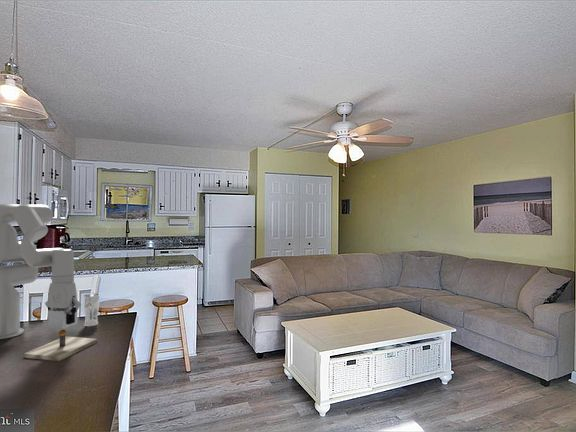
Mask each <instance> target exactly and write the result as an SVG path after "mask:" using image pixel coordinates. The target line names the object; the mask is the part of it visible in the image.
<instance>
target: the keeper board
mask: <svg viewBox="0 0 576 432" xmlns="http://www.w3.org/2000/svg"><path fill="white" fill-rule="evenodd" d="M66 334H67V330H65V329H60V330H59V331H58V336H59V338H58V339H55V340H52V341H50V342H48V343H46V344H44V345H42V346H39V347H36V348H33V349H32V350H29V351H27V352H25V353H23V358H24V359H25V358H26V359H35V360H36V359H37V360H46V361H55V362H60V361H62V360H64V359H66V358H69V357H70V356H72V355H75V354H76V353H78V352H80V351H83V350H84V349H86V348H89V347H91V346H92V345H95V344H97V342H98V338H91V337H90V338H89V337H88V338H87V337H79V336H78V337H77V336H67V335H66Z"/></svg>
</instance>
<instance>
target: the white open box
mask: <svg viewBox="0 0 576 432" xmlns="http://www.w3.org/2000/svg"><path fill="white" fill-rule="evenodd" d="M70 309H71V310H72V308H70ZM68 314H69V313H68V310H67V309H59V308H55V309H52V310H48V309H47V328H48V329H56V330H65V329H67V328H69V327H72V326H74V325H77V324H78V311H77V312H76V313H75V322H74V323H72V324H67V315H68Z"/></svg>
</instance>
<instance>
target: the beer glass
mask: <svg viewBox="0 0 576 432" xmlns="http://www.w3.org/2000/svg"><path fill="white" fill-rule="evenodd" d="M82 306H83V313H84V319H85V320H84V324H83V325H84V327H85V326H87V328H91V327H95V326H98V325H99V321H98V320H99V319H98V315H99V309H100V294H99V293H87V294H84V295H83V305H82Z"/></svg>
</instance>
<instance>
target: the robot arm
mask: <svg viewBox="0 0 576 432" xmlns="http://www.w3.org/2000/svg"><path fill="white" fill-rule="evenodd" d="M53 217H54V213H53V210H52V208H51V207H50V206H49V205H45V204H30V203H29V204H24V203H23V204H19V203H0V264H4V263H5V264H7V263H8V264H9V263H18V262H21V263H20V264H10V265H2V266H0V340H4V339H5V340H6V339H10V338H14V337H18V336H21V335H23V334H24V332H25V329H24V328H22V327H21V295H20V292H19V291H18V290H17V289H16V288H15V286H21V285H26V284H32V283H34V282H35V281H36V280H37V279H38V276H39V268H45V267H46V268H47V267H51V276H50V279H51V282H50V284H49V288H48V292H47V300H46V301H45V304H44V305H45V306H46V307H47V308H46V309H47V311H48V310H52V309H55V308H59V309H67V310H68V313H69V314H68V315H67V324H72V323H74V322H75V313H76V312H77V313H78V310H79V309H80V308H81V306H82V303H81V302H80V301H79V300H78V296H77V295H78V293H77V287H76V286H77V285H76V282H75V253H74V250H73V249H71V248H63V247H51V248H50V247H48V248H37V246H36V244H34V242H36V241H39V240H41V239H42V238H44V237H45V236H46V235H47V233H48V232H49V228H48V226H47V225H46V224H48V223H50V222H52V220H53ZM11 223H16V224H17V225H18V226H19V228H20V230H21V231H22V233H23V237H22V238H21V240H18V233H17V230H16V229H15V227H14V226H13V225H12V224H11ZM70 308H72V310H71V309H70Z"/></svg>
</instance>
